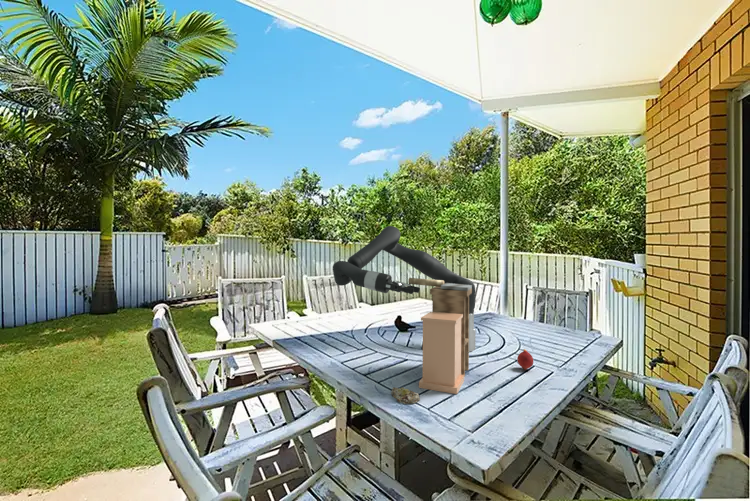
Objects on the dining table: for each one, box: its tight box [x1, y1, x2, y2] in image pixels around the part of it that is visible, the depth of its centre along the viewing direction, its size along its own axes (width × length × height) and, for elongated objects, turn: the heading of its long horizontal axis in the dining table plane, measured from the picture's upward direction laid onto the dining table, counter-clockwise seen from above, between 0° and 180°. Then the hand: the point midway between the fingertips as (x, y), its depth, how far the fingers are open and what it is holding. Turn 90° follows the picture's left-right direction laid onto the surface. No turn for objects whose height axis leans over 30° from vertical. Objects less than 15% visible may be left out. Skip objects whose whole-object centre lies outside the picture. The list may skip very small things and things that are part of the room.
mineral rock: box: [390, 386, 421, 405], centre depth 114 cm, size 11×4×8 cm
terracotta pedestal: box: [418, 311, 465, 395], centre depth 125 cm, size 13×13×24 cm
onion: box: [516, 348, 534, 371], centre depth 140 cm, size 6×6×8 cm
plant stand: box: [429, 286, 472, 378], centre depth 138 cm, size 14×10×32 cm
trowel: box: [407, 277, 472, 291], centre depth 140 cm, size 24×9×3 cm, turn 66°
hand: (416, 290), depth 137 cm, fingers open, 8 cm apart
